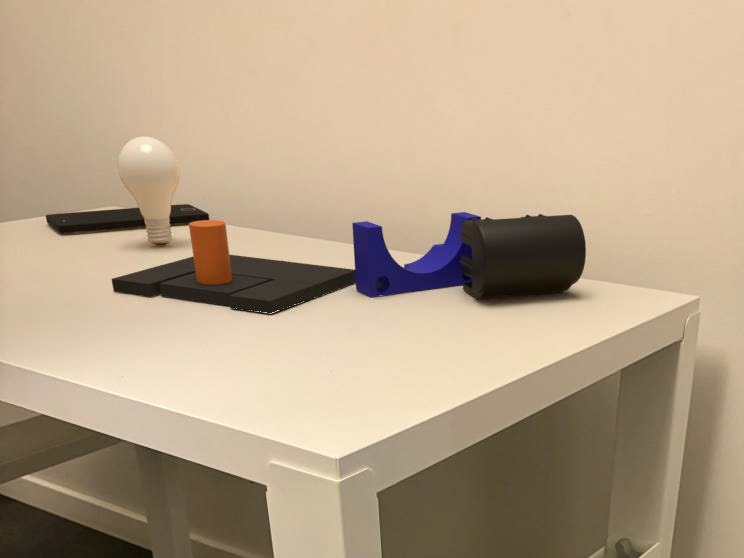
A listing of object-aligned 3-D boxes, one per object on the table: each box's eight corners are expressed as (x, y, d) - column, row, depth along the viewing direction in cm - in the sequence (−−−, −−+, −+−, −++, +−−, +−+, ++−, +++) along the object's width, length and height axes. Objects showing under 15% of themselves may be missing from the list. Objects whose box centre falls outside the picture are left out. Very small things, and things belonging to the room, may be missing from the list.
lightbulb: (121, 245, 110) (102, 135, 105) (173, 238, 114) (157, 132, 108) (148, 253, 106) (129, 140, 101) (200, 246, 110) (185, 136, 104)
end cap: (484, 307, 88) (485, 226, 84) (456, 289, 93) (456, 213, 90) (584, 298, 91) (589, 219, 87) (551, 281, 97) (555, 207, 93)
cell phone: (211, 221, 123) (210, 213, 122) (60, 234, 115) (58, 225, 114) (190, 211, 129) (188, 203, 128) (45, 222, 121) (44, 214, 121)
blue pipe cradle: (456, 273, 99) (456, 209, 96) (480, 282, 96) (480, 216, 93) (349, 287, 94) (345, 220, 91) (370, 297, 91) (367, 227, 88)
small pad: (160, 296, 90) (149, 224, 87) (203, 283, 95) (193, 214, 92) (230, 306, 88) (221, 232, 84) (271, 292, 92) (263, 221, 89)
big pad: (113, 292, 92) (111, 278, 91) (210, 264, 102) (208, 251, 102) (271, 314, 85) (270, 300, 85) (357, 282, 96) (356, 269, 95)
